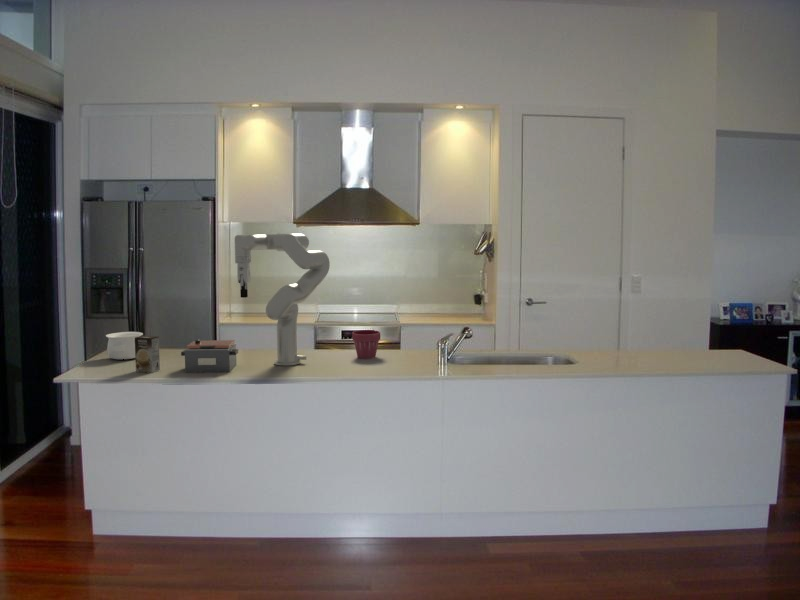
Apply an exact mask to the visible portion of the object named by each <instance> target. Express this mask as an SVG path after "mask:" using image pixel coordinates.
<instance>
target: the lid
mask: <svg viewBox="0 0 800 600" xmlns="http://www.w3.org/2000/svg"><path fill="white" fill-rule="evenodd" d="M235 341H236V340H235V339H230V340H229V339H226V340H225V339H222V340H221V339H218V340H217V339H216V340H215V339H213V340H211V339H209V340H201V339H196V340H193V341H192V342H190V343H189V344H187V345H186V349H187V348H229V347H230V346H232V345H233V344H235Z"/></svg>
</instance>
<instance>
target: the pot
mask: <svg viewBox="0 0 800 600" xmlns="http://www.w3.org/2000/svg"><path fill="white" fill-rule="evenodd" d="M142 335H144V333H143V332H140V331H120V332H113V333H108V334H105V337H106V338H108V341H107V348H106V351H107V354H108V357H109V358H110V359H111V360H118V361H119V360H122V361H123V359H124V360H130V359H135V337H139V336H142Z"/></svg>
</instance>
